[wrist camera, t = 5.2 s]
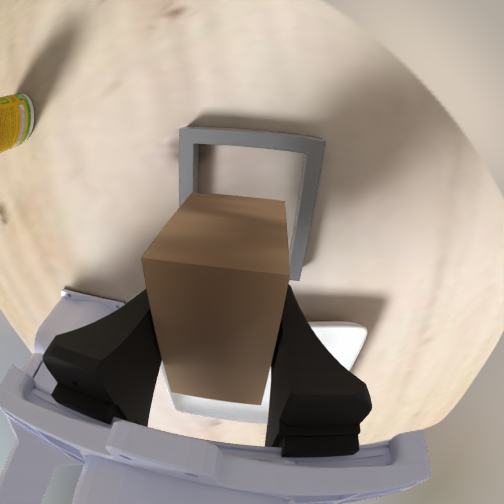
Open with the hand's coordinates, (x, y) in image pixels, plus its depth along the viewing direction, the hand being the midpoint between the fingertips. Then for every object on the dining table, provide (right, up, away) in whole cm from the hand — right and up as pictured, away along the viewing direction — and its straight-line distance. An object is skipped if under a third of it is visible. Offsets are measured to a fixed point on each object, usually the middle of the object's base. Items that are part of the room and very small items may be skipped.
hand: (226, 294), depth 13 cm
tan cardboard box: (0, +1, +2) cm, 2 cm away
